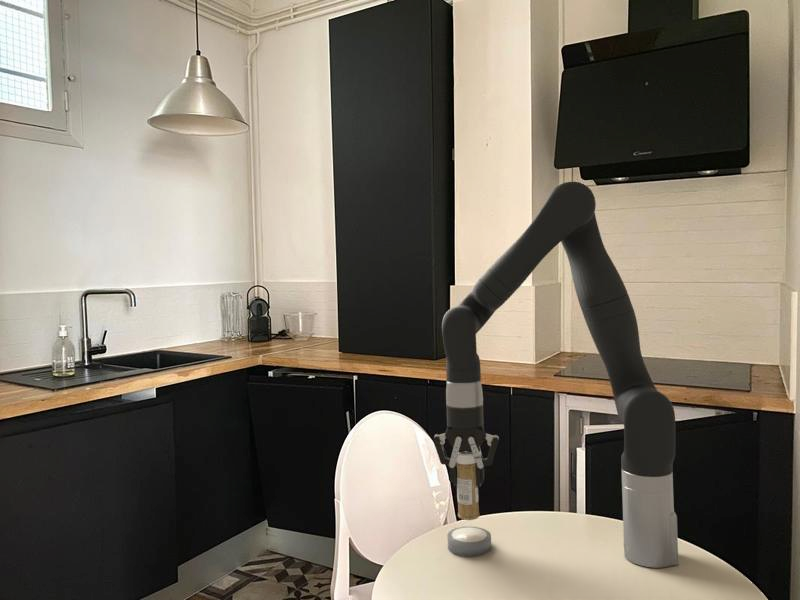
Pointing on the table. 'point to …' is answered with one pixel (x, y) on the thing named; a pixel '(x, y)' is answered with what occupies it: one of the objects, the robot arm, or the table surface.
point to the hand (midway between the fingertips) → (467, 484)
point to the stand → (469, 541)
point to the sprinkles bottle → (467, 486)
